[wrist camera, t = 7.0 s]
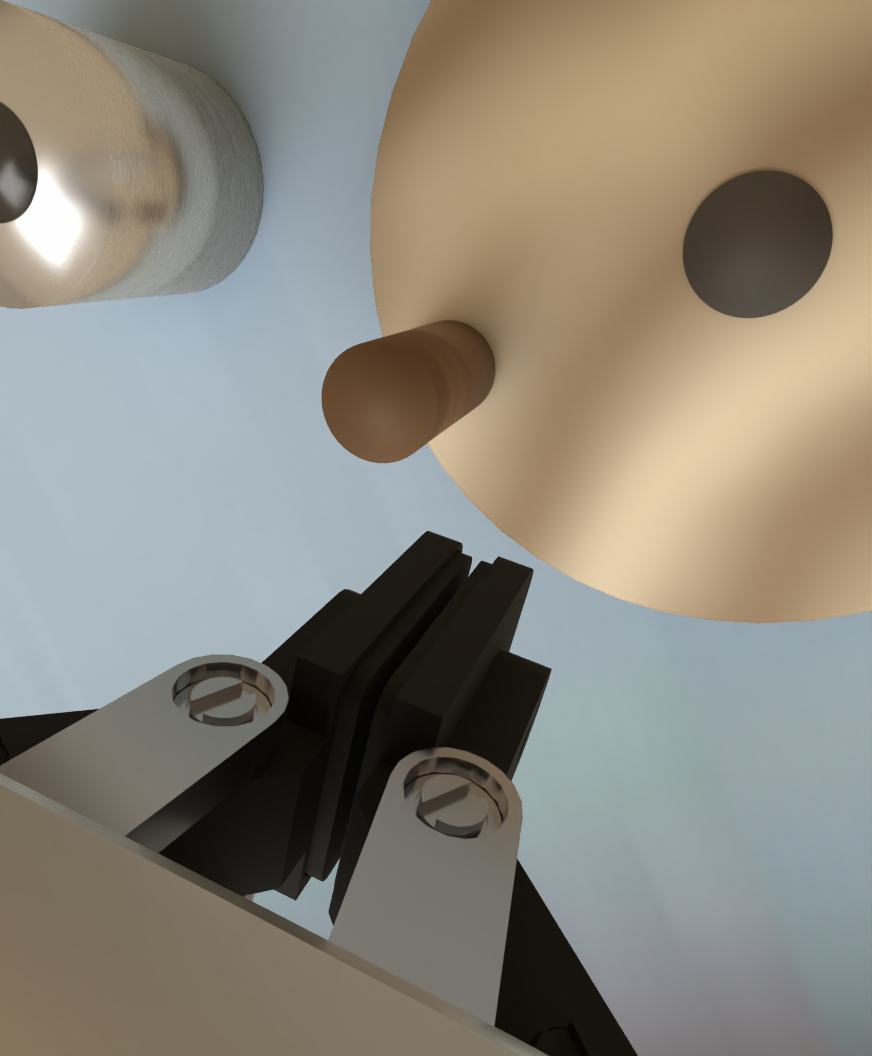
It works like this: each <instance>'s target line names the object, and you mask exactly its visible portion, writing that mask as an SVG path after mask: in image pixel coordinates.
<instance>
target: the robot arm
mask: <svg viewBox="0 0 872 1056" xmlns="http://www.w3.org/2000/svg"><path fill="white" fill-rule="evenodd" d="M462 548H463V546H462V543H460V542H457V541H455V540H452V539H449V538H446V537H444V536H441V535H438V534H435V533H433V532H430V531H427V532H425V533H424V534H423V535H422V536H421V537H420V538H419V539H418V540H417V541H416V542H415V543H414V544H413V545H412V546H411V547H410V548H409V549H407V550H406V551H405V552H404V553H403V554H402V555H401V556H400V557H399V558H398V559H397V560H396V561H395V562H394V563H393V564H392V565H391V566H390V567H389V568H388V569H387V570H386V571H385V572H384V573H383V574H382V575H381V576H380V577H379V578H377V579H376V580H375V581H374V582H373V583H372V584H371V585H370V586H369V587H368V588H367V589H366V590H365V591H364V592H363V593H362V594H359V593H356V592H354V591H351V590H349V589H344V590H343V591H341V592H339V593H338V594H337V595H336V596H335V597H334V598H333V599H332V600H330V601H329V602H328V603H327V604H326V605H325V606H324V607H323V608H322V609H321V610H319V611H318V612H317V613H316V614H315V615H314V616H313V617H312V618H311V619H310V620H308V621H307V622H306V623H305V624H304V625H303V626H302V627H301V628H300V629H299V630H297V631H296V632H295V633H294V634H293V635H292V636H291V637H290V638H289V639H287V640H286V641H285V642H284V643H283V644H282V645H281V646H280V647H279V648H278V649H276V650H275V651H274V652H273V653H272V654H271V655H270V656H269V657H268V658H267V659H265V660H264V661H263V662H262V663H259V662H257V661H255V660H252V659H250V658H245V657H240V656H235V655H207V656H202V657H196V658H192V659H190V660H187V661H185V662H183V663H180V664H178V665H176V666H174V667H172V668H171V669H169V670H167V671H165V672H164V673H162V674H160V675H158V676H157V677H155V678H153V679H151V680H150V681H148V682H146V683H144V684H143V685H141V686H139V687H137V688H136V689H134V690H132V691H130V692H129V693H127V694H125V695H123V696H122V697H120V698H118V699H116V700H115V701H113V702H111V703H109V704H108V705H106V706H104V707H102V708H101V709H94V710H84V711H74V712H64V713H54V714H44V715H34V716H24V717H14V718H4V719H0V1056H638V1055H637V1054H636V1052H635V1050H634V1049H633V1047H632V1046H631V1044H630V1042H629V1041H628V1039H627V1037H626V1036H625V1034H624V1032H623V1031H622V1029H621V1028H620V1026H619V1024H618V1023H617V1021H616V1019H615V1018H614V1016H613V1014H612V1013H611V1011H610V1010H609V1008H608V1006H607V1005H606V1003H605V1001H604V1000H603V998H602V996H601V995H600V993H599V992H598V990H597V988H596V987H595V985H594V983H593V982H592V980H591V978H590V977H589V975H588V974H587V972H586V970H585V969H584V967H583V965H582V964H581V962H580V960H579V959H578V957H577V956H576V954H575V952H574V951H573V949H572V947H571V946H570V944H569V943H568V941H567V939H566V938H565V936H564V934H563V933H562V931H561V929H560V928H559V926H558V925H557V923H556V921H555V920H554V918H553V916H552V915H551V913H550V911H549V910H548V908H547V907H546V905H545V903H544V902H543V900H542V898H541V897H540V895H539V893H538V892H537V890H536V889H535V887H534V885H533V884H532V882H531V880H530V879H529V877H528V875H527V874H526V872H525V871H524V869H523V867H522V866H521V864H520V862H519V861H518V859H517V854H518V847H519V840H520V832H521V825H522V817H523V816H522V802H521V799H520V797H519V795H518V792H517V790H516V788H515V786H514V784H513V783H512V782H511V781H512V778H513V776H514V773H515V771H516V768H517V766H518V763H519V761H520V758H521V756H522V753H523V750H524V748H525V745H526V742H527V740H528V737H529V734H530V731H531V729H532V726H533V723H534V720H535V717H536V715H537V712H538V709H539V706H540V703H541V700H542V697H543V694H544V691H545V689H546V686H547V683H548V680H549V676H550V673H551V668H548V667H545V666H543V665H540V664H538V663H535V662H533V661H530V660H528V659H525V658H522V657H520V656H517V655H515V654H512V653H510V652H509V650H510V647H511V644H512V641H513V637H514V634H515V631H516V628H517V625H518V621H519V618H520V615H521V612H522V609H523V605H524V602H525V599H526V596H527V593H528V589H529V586H530V583H531V579H532V576H533V569H532V568H529V567H526V566H523V565H521V564H518V563H515V562H512V561H510V560H507V559H504V558H501V557H499V556H498V557H497V558H496V560H495V561H494V562H493V564H490V563H487V562H484V561H481V562H480V563H479V564H478V565H477V567H476V568H475V569H474V571H473V572H472V573H471V574H470V576H469V577H468V575H469V572H470V568H471V564H472V557H471V556H468V555H465V554H462ZM339 858H340V861H339V866H338V870H337V874H336V878H335V884H334V890H333V895H332V899H331V903H330V908H329V915H330V918H331V921H332V923H333V929H332V932H331V934H330V937H329V939H328V940H326V939H324V938H322V937H320V936H318V935H316V934H314V933H312V932H310V931H308V930H306V929H305V928H303V927H301V926H299V925H297V924H295V923H293V922H291V921H289V920H287V919H285V918H283V917H281V916H279V915H277V914H275V913H273V912H271V911H270V910H268V909H266V908H264V907H262V906H260V905H258V904H256V903H254V902H253V898H254V895H255V893H259V892H264V891H268V890H273V889H274V890H276V891H278V892H280V893H282V894H284V895H286V896H288V897H290V898H292V899H294V900H296V899H297V898H298V896H299V895H300V893H301V892H302V890H303V889H304V887H305V886H306V884H307V883H308V881H309V880H310V878H311V877H314V878H316V879H318V880H320V881H324V880H325V879H326V878H327V877H328V876H329V874H330V873H331V871H332V870H333V868H334V866H335V865H336V863H337V862H338V860H339Z"/></svg>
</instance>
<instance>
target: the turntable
mask: <svg viewBox="0 0 872 1056" xmlns="http://www.w3.org/2000/svg"><path fill="white" fill-rule="evenodd" d="M370 252H371V262H372V273H373V284H374V295H375V302H376V307H377V311H378V316H379V321H380V326H381V330H382V335H383V337H382V338H379V339H375V340H372V341H368V342H365V343H361V344H358V345H355V346H353V347H351V348H349V349H347V350H346V351H344V352H343V353H341V354H340V355H339V356H338V357H337V358H336V359H335V360H334V362H333V363H332V364H331V366H330V368H329V369H328V371H327V374H326V376H325V379H324V383H323V387H322V408H323V413H324V417H325V419H326V422H327V425H328V427H329V429H330V431H331V432H332V434H333V435H334V437H335V438H336V439H337V441H338V442H339V443H340V444H341V445H342V446H343V447H344V448H345V449H346V450H348V451H349V452H350V453H352V454H353V455H355V456H357V457H359V458H361V459H364V460H367V461H370V462H375V463H391V462H396V461H399V460H402V459H404V458H406V457H408V456H410V455H411V454H413V453H414V452H416V451H417V450H418V449H420V448H421V447H423V446H424V445H425V444H427V443H428V445H429V446H430V448H431V450H432V451H433V453H434V454H435V456H436V458H437V459H438V461H439V462H440V464H441V465H442V467H443V468H444V469H445V471H446V472H447V473H448V474H449V476H450V477H451V478H452V479H453V480H454V482H455V483H456V484H457V485H458V487H459V488H460V489H461V490H462V491H463V493H464V494H465V495H466V496H467V498H468V499H469V500H470V501H471V502H472V503H473V504H474V505H475V506H476V507H477V508H478V509H479V510H480V511H481V512H482V513H483V514H484V515H485V516H487V517H488V518H489V519H490V520H491V521H492V522H493V523H494V524H495V525H496V526H497V527H498V528H499V529H500V530H501V531H502V532H504V533H505V534H506V535H508V536H509V537H510V538H512V539H513V540H514V541H516V542H517V543H518V544H520V545H521V546H522V547H524V548H525V549H526V550H527V551H529V552H530V553H531V554H533V555H534V556H535V557H537V558H539V559H540V560H542V561H544V562H545V563H547V564H549V565H551V566H552V567H554V568H556V569H557V570H559V571H561V572H563V573H564V574H566V575H568V576H570V577H571V578H573V579H575V580H577V581H579V582H581V583H584V584H586V585H588V586H591V587H593V588H595V589H598V590H600V591H602V592H604V593H607V594H609V595H611V596H614V597H616V598H619V599H622V600H626V601H629V602H632V603H636V604H639V605H642V606H645V607H649V608H652V609H655V610H659V611H662V612H668V613H673V614H679V615H685V616H690V617H696V618H701V619H707V620H718V621H733V622H748V623H775V622H798V621H813V620H819V619H826V618H833V617H839V616H846V615H852V614H859V613H864V612H868V611H872V0H432V1H431V3H430V5H429V7H428V9H427V11H426V13H425V15H424V16H423V18H422V20H421V22H420V24H419V26H418V28H417V30H416V32H415V34H414V36H413V38H412V41H411V44H410V46H409V49H408V52H407V54H406V57H405V60H404V62H403V65H402V68H401V70H400V73H399V76H398V78H397V81H396V84H395V86H394V89H393V92H392V95H391V99H390V103H389V107H388V111H387V115H386V119H385V123H384V127H383V131H382V135H381V139H380V143H379V148H378V155H377V162H376V169H375V177H374V184H373V191H372V199H371V242H370Z"/></svg>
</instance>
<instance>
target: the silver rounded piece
mask: <svg viewBox="0 0 872 1056" xmlns="http://www.w3.org/2000/svg"><path fill="white" fill-rule="evenodd" d="M262 205H263V176H262V169H261V163H260V157H259V153H258V150H257V146H256V142H255V140H254V137H253V135H252V132H251V130H250V127H249V125H248V123H247V121H246V120H245V118H244V116H243V114H242V112H241V111H240V109H239V108H238V106H237V105H236V103H235V102H234V100H233V99H232V98H231V97H230V96H229V95H228V93H227V92H226V91H225V90H224V89H223V88H222V87H221V86H220V85H219V84H217V83H216V82H215V81H214V80H213V79H212V78H210V77H209V76H207V75H206V74H204V73H203V72H201V71H199V70H197V69H195V68H193V67H191V66H189V65H186V64H183V63H180V62H177V61H175V60H172V59H169V58H166V57H163V56H160V55H157V54H154V53H152V52H149V51H146V50H143V49H140V48H137V47H134V46H132V45H129V44H126V43H123V42H120V41H117V40H114V39H111V38H109V37H106V36H103V35H100V34H97V33H94V32H91V31H89V30H86V29H83V28H80V27H77V26H74V25H71V24H68V23H66V22H63V21H60V20H57V19H54V18H51V17H48V16H46V15H43V14H40V13H37V12H34V11H31V10H28V9H26V8H23V7H20V6H17V5H14V4H11V3H8V2H5V1H3V0H0V306H1V307H6V308H19V309H24V308H35V307H45V306H56V305H67V304H78V303H88V302H99V301H110V300H121V299H131V298H142V297H153V296H164V295H174V294H185V293H193V292H198V291H202V290H205V289H208V288H210V287H212V286H214V285H216V284H218V283H219V282H221V281H222V280H224V279H225V278H227V277H228V276H229V275H230V274H231V273H232V272H233V271H234V270H235V269H236V268H237V267H238V266H239V264H240V263H241V262H242V260H243V259H244V258H245V256H246V254H247V252H248V251H249V249H250V247H251V245H252V243H253V240H254V238H255V235H256V233H257V229H258V226H259V222H260V217H261V211H262Z"/></svg>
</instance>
